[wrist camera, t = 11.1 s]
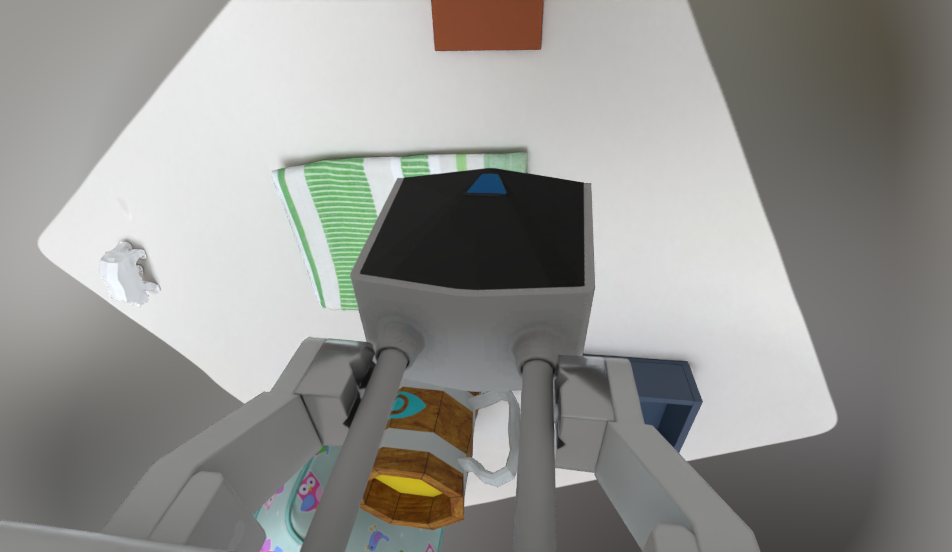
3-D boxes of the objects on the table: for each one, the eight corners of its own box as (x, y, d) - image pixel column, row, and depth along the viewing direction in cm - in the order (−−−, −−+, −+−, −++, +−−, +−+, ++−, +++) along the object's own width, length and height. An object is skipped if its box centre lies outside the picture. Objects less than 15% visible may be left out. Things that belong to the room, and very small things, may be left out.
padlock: (409, 264, 17) (94, 978, 5) (395, 165, 14) (-305, 1115, 2) (577, 273, 16) (682, 1144, 4) (593, 170, 14) (950, 1570, 2)
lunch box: (296, 399, 63) (203, 561, 46) (338, 376, 58) (253, 546, 41) (417, 484, 73) (378, 641, 56) (461, 470, 69) (434, 637, 52)
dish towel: (526, 307, 46) (525, 323, 44) (329, 301, 50) (319, 316, 48) (527, 148, 36) (526, 160, 34) (277, 154, 39) (261, 165, 37)
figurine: (143, 242, 48) (109, 265, 44) (164, 295, 53) (135, 320, 49) (122, 238, 48) (87, 261, 44) (145, 291, 53) (115, 315, 49)
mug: (414, 424, 63) (384, 532, 51) (367, 365, 56) (319, 473, 44) (540, 406, 56) (540, 524, 44) (505, 336, 49) (493, 453, 37)
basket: (687, 361, 48) (702, 401, 44) (660, 431, 56) (670, 471, 52) (567, 352, 50) (570, 390, 45) (558, 421, 58) (559, 459, 53)
